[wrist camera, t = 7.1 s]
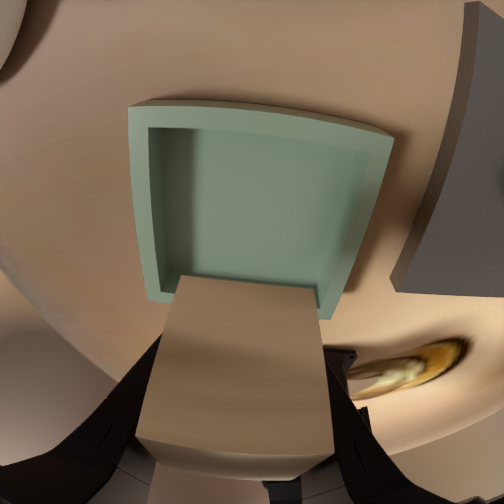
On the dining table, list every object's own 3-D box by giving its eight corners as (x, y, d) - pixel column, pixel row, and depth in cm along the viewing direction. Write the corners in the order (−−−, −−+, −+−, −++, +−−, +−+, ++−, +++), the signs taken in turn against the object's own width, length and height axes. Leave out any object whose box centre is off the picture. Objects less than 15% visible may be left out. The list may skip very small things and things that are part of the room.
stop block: (288, 360, 11) (291, 480, 7) (187, 350, 11) (164, 469, 7) (313, 288, 9) (334, 452, 5) (181, 275, 9) (134, 436, 4)
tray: (325, 293, 20) (330, 319, 18) (157, 275, 20) (147, 300, 18) (375, 126, 13) (394, 138, 11) (147, 99, 13) (128, 106, 11)
